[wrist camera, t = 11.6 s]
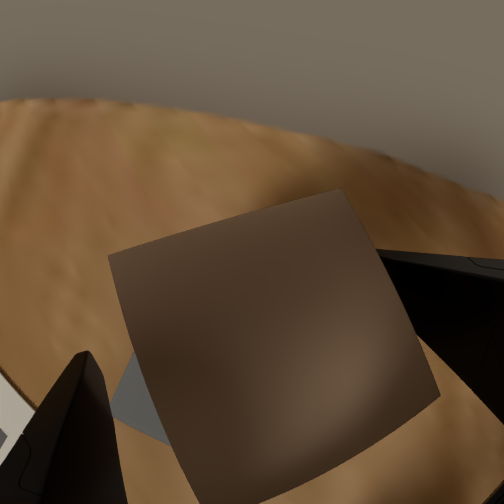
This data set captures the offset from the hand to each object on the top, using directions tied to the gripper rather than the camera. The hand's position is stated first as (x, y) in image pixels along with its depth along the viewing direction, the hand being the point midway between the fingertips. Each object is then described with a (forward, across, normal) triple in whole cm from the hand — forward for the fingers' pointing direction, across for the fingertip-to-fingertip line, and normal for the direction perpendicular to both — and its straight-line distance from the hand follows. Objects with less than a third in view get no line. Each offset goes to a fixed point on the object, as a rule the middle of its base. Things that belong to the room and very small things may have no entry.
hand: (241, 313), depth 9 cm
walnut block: (+5, 0, +7) cm, 8 cm away
